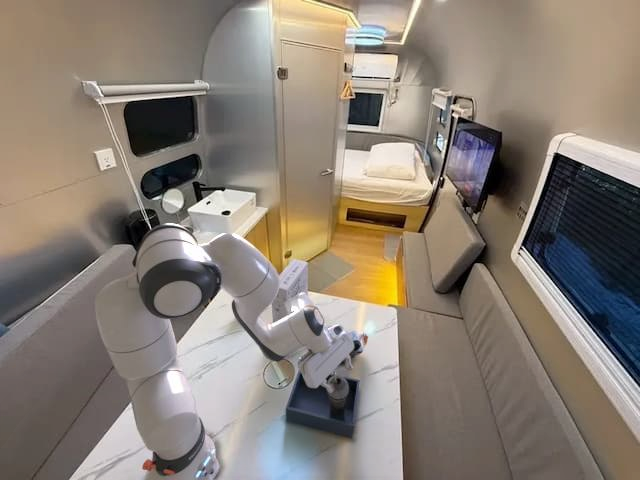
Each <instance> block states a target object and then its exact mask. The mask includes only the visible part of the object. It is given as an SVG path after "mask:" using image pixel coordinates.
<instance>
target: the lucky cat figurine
mask: <svg viewBox="0 0 640 480" xmlns="http://www.w3.org/2000/svg"><path fill="white" fill-rule="evenodd" d="M348 335H349V336H350V337H351V339H352V341H353V343H354V349H353V350H352V351H351V352H350V353H349V355H350V357H351V362H352V361H353V360H354V359H356V357H357V356H359V355H361V354H362V353H363V352H364V349H365V348H366V346H367V344H368V338H369V336H368V334H367V333H362V334H361V333H360V332H358V331H355V330H353V331H350V332H349V333H348ZM340 364H346V361H345V360H343V361H342V362H341V363H340Z"/></svg>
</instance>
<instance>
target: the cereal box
mask: <svg viewBox="0 0 640 480" xmlns="http://www.w3.org/2000/svg"><path fill="white" fill-rule="evenodd" d="M278 275H279V280H280V284H279V290H278V293H277V295H276V298H275V299H274V301H273V302H272V304H271V314H272V316H271V317H272V323H275V322H277V321H278V320H280V319H282V318H283V317H285V316H287V315H288V313H287V310H286V308H285V305H284V303H285V301H286V300H287V299H289V298H290V297H292V296H294V295H296V294H298V293H301V292H305V293H306V294H307V295H308V296H309V293H308V291H309V262H307V261H304V260H300V259H295V258H293V259H292V260H291V261H290V263H289V264H288V265H287V266H286V267H285V268H284V270H282V271H281V273H280V274H278Z"/></svg>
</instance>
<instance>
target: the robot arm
mask: <svg viewBox="0 0 640 480" xmlns="http://www.w3.org/2000/svg"><path fill="white" fill-rule="evenodd" d="M136 250H137V251H136V252H135V255H134V257H133V259H132V266H133V268H134V270H133V271H132V273H131V274H129V275H127V276H124V277H120V278H117V279H114V280H113V281H110V282H109V283H107V284H106V285H104V286H102V288H101V289H100V290H99V291H98V292H97V295H96V297H95V299H94V314H95V319H96V325H97V328H98V332H99V336H100V338H101V341H102V344H103V345H104V348H105V350H106V352H107V354H108V357H109V358H110V361H111V364H112V365H113V367H114V370H115V372H116V374H117V375H118V376H119V377H120V378H122V379H123V380H124V381H125V384H126V388H127V391H128V395H129V400H130V404H131V408H132V412H133V417H134V421H135V427H136V430H137V432H138V435H139V436H140V438H141V440H142V442H143V443H144V446H145V447H146V448H147V450H148V451H150V452H152V458H151V459H150V458H147V459H146V460H145V461H144V462H143V464H142V467H141V469H142V470H144V471H147V472H146V474H145V477H144V479H143V480H215V478H216V477H217V475H218V473H220V472H219V471H220V468H221V466H220V463H219V461H218V459H217V449H216V444H215V443H214V440H213V439H212V437H211V436H209V435H207V433H206V428H205V425H204V423H203V421H202V418H201V417H200V416H199V413H198V410H197V404H196V400H195V396H194V393H193V391H192V388H191V386H190V384H189V382H188V379H187V377H186V374H185V372H184V369H183V367H182V364H181V361H180V359H179V356H178V344H177V340H176V336H175V333H174V329H173V326H172V322H171V320H177V319H181V318H184V317H188V316H189V315H191V314H194V313H195V312H197V311H198V310H200V309H201V308H202V307H204V306H205V304H207V303H208V302H209V300H210V299H213V298H215V296H217V294H218V292H219V291H220V289H222V290H224V291H225V292H226V293H227V294H228V295H229V296H231V298H232V301H231V310H232V313H233V315H234V318H235V320H236V321H237V322H238V324H239V325H240V326H241V327H242V328H243V330H244V331H245V332H246V333H247V334H248V336H249V337H250V338H251V339H252V340H253V342H254V343H256V345H257V346H258V348H259V349H260V352H261V353H262V355H263V356H264V357H265V358H266V359H268V360H269V361H272V362H277V363H278V362H281V361H282V360H284V359H285V358H287V357H289V355H291V354H294V352H297V351H298V350H300V349H302V348H304V347H305V348H306V350H307V351H306V352H305V353H304V354H303V355H302V356H300V357H299V358H298V361H297V369H298V371H299V370H300V372H301V373H302V376H303V378H304V380H305V383H306V385H307V386H308V387H309V388H317V387H318V386H319V385H321V386H323V387H325V388H326V389H327V390H328V392H329V393H332V392H333V391H334V390H335V388H334V387H333V385H332V384H329V385H328V384H326V383H327V381H326V378H327V377H328V376H329V375H330V374H331V373H333V372H334V371H335V369H336V368H337V367H338V366H339V365H340V364H342V363H341V362H342V361H343V360H345V361H346V363H345V366H344V369H346V372H348V373H349V372H352V371H353V370H354V367H353V365H352V361H351V357H350V355H349V353H350V352H351V351H352V350H353V349H354V343H353V341H352V339H351V337H350V336H349V335H348V334H349V333H348V332H347V331H346V330H344V329H345V328H344V326H343V325H342V324H340V323H339V324H334V325H331V326H328V325H327V323H326V322H325V319H324V316H323V315H322V313H321V311H320V310H319V307H318V306H316V305H315V303H314V302H313V300H312V299H311V298H310V296H309V294H308V295H307V294H306V293H305V292H301V293H298V294H296V295H294V296H292V297H290V298H289V299H287V300H286V301H285V303H284V305H285V308H286V310H287V313H288V315H287V316H285V317H283V318H282V319H280V320H278V321H277V322H275V323H273V322H272V323H269V324H267V323H266V322H265V320H263V318H262V317H261V315H262V314H263V313H264V312H265V311H266V309H269V307H270V306H272V302H273V301H274V299H275V298H276V295H277V293H278V290H279V284H280V280H279V275H280V274H279V273H278V271H277V269H276V268H275V266H274V265H273V264H272V262H271V261H270V260H269V259H268V258H267V257H266V256H265V254H263V252H261V250H259V249H258V248H257V247H256V246H254V245H253V244H252V242H249V241H248V240H247V239H246V238H244V237H242V236H241V235H239V234H237V233H234V232H225V233H221V234H219V235H217V236H215V237H214V238H212V239H211V240H210V241H209V242H207V243H201V244H200V243H198V240H197V238H196V236H195V235H194V233H192V232H191V231H190V230H189V229H187V228H186V227H184V226H182V225H181V224H176V223H162V224H161V223H160V224H158V225H156V226H154V227H152V228H151V229H149V230H148V231H147V232H146V233H145V234H144V235H143V237H142V239H141V241H140V243H139V245H138V247H137V249H136Z"/></svg>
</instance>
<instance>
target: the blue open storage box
mask: <svg viewBox="0 0 640 480" xmlns="http://www.w3.org/2000/svg"><path fill="white" fill-rule="evenodd" d="M335 375H339V376H342V377H344V378H345V379H346V381H347V383H348V386H349V393H348V395H347V397H346V401H345V405H344V408H343V411H342V412H341V413H340V414H335V413H333V412H332V411H331V409H330V404H329V398H328V394H327V391H326V388H325V387H323V386H321V385H319V386H318V387H317V388H309V387H308V386H307V385H306V383H305V380H304V378H303V376H302V373H301V372H300V370H299V369H298V372H297V374H296V377H295V380H294V382H293V385H292V389H291V392H290V395H289V397H288V400H287V404H286V406H285V421H286V422H289V423H291V424H292V423H293V424H297V425H300V426H303V427H307V428H311V429H315V430H318V431H321V432H324V433H327V434H332V435H336V436H340V437H343V438H347V439H350V440H352V439H353V436H354V431H355V424H356V416H357V410H358V409H357V408H358V401H359V400H358V399H359V389H360V382H361V380H360V379H358V378H353V377H349V376H344V375H341V374H336V373H335ZM333 376H334V373H333V372H331V374H330V375H329V376H328V377H327V378H326V381H327V383H328V381H329V379H330V378H331V377H333ZM327 383H326V384H327Z"/></svg>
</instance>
